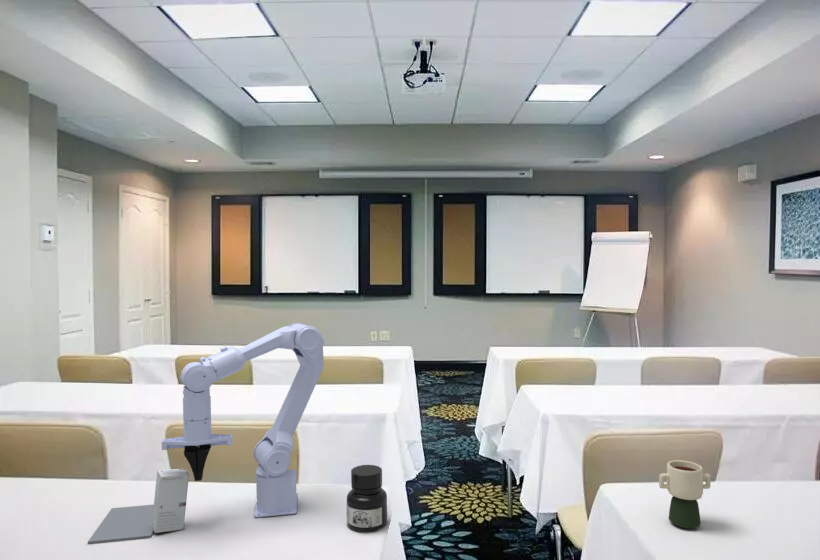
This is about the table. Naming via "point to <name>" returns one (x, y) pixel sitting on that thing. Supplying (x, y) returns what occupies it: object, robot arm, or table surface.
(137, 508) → the slate mat
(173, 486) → the skincare box
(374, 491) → the ink bottle
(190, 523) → the table surface
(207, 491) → the table surface
